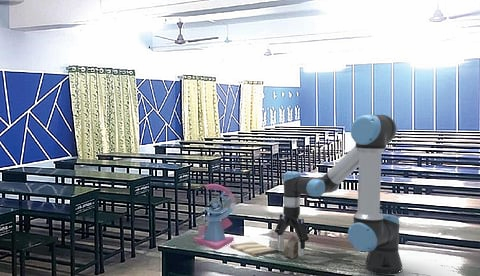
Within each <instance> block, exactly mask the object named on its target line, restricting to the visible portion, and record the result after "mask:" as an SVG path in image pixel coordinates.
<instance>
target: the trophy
mask: <svg viewBox="0 0 480 276" xmlns="http://www.w3.org/2000/svg"><path fill="white" fill-rule="evenodd" d="M204 187H205V189H206V193H207V194H208V195H210V192H209V190H214V195H217V190H219V191H221V194H220V195H219V197H220V198H221V199H223V200H224V201H225V206H222V204H223V203H222V201H221V200H219V199H218V198H217V199H216V198H213V199H212V200H210V201H209V203H208V205H212V207H211V206H209V207H207V206H205V207H204V210H205V211H206V212H207V213H209V215H208V214H205V218H204V219H205V220H204V221H207V222H208V224H207V225H198V231H197V237H196V236H195V237H194V238H193V242H194V243H195V242H196V244H199V245H201V246H204V247H206V248H210V249H212V250H215V251H216V250H218V251H219V250H220V249H222V248H224V247H226V246H228V245H229V244H231V243H233V242H234V240H235V237H234V236H226V235H225V232H224V230H227V229H228V228H229V227H230V226H232V225H233V222H232V221H231V220H230V219H229V218H228V216H230V215H231V213H232V212H233V211H234V208H235V207H236V204H237V203H236V197H235V196H234V194H233V193H232V192H231V191H230V189H228V187H227V188H226V187H225V186H223V185H220V184H215V183H211V184H210V183H209V184H204ZM225 194H226V195H227V196H228V197H225ZM229 200H230V202H231V204H229V206H228V201H229ZM217 202H218V204H219V205H218V204H217ZM218 207H219V208H218ZM226 207H228V208H226ZM210 214H211V215H210ZM198 236H199V237H198ZM200 236H202V237H200ZM232 241H233V242H232ZM227 244H228V245H227ZM225 245H226V246H225Z"/></svg>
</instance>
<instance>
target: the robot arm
mask: <svg viewBox="0 0 480 276" xmlns="http://www.w3.org/2000/svg"><path fill="white" fill-rule="evenodd" d="M396 133H397V124H396V123H395V120H393V118H391V116H388V115H385V114H363V115H360V116H358V117H357V118H356V119H355V120H354V121H353V123H352V125H351V126H350V137H351V138H352V139H353V141H354V142H355V146H354V147H353V148H352V149H350V150H349V151H348V152H347V153H346V154H345V155H343V157H342V158H341V159H340V160H339V161H338V162H337V163H336V164H334V165H333V166H332V167H331V168H329V170H328V171H327V172H326V173H325V174H324V175H323V176H318V177H311V178H310V177H302V173H301V172H299V171H286V172H285V173H284V175H283V203H282V204H283V205H284V206H283V211H282V212H283V213H280V214H279V219H278V222H277V224H276V227H275V230H274V232H275V233H276V234H277V242H278V246H277V247H278V249H277V250H284V247H285V234H284V233H285V232H286V230H287V229H288V227H291V228H293V229H294V231H295V233H296V235H297V238H298V239H299V246H298V254H297V257H301V256H305V247H306V241H309V234H308V233H307V229H306V228H307V227H306V225H305V220H304V219H305V218H299V216H300V214H301V207H300V205H301V195H304V196H310V197H318V198H319V197H321V196H323V195H324V194H327V193H328V194H330V193H333V192H335V191H338V190H339V188H340V184H341V183H343V181H345V180H346V179H347V178H348V177H349V176H350V175H352V173H353V172H355V171H356V170H357V168H358V185H357V186H358V187H357V188H358V189H357V190H358V191H357V212H356V213H354V214H353V223H352V224H351V225H350V226H349V228H348V231H347V237H348V241H349V243H350V244H351V245H352V246H353V248H354V249H356V250H357V251H359V252H368V253H367V256H366V260H365V262H364V264H365V265H364V268H365V269H366V270H368V271H371V272H373V273H379V274H386V273H393V274H397V273H396V272H399V271H401V270H402V271H403V263H402V259H401V256H400V252H399V243H400V242H399V240H400V239H399V238H400V226H401V225H400V219H399V217H398V216H397V215H394V214H388V213H381V212H380V209H381V180H382V179H381V177H382V154H383V152H384V151H385V150H386V149H387V148H386V146H387V145H389V143H391V142H392V141H393V139H394V138H395V137H396V135H397V134H396ZM402 271H401V272H402ZM399 273H400V272H399Z"/></svg>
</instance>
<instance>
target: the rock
mask: <svg viewBox="0 0 480 276" xmlns="http://www.w3.org/2000/svg"><path fill="white" fill-rule="evenodd" d="M299 241H300V240H299V238H298V236H297V237H296V236H294V235H292V236H290V238H289V239H288V241H287V243H286V244H285V245H284V249H283V252H284V257H286V258H289V259H291V260H293V259H295V258H296V257H297V256H298V246H299Z"/></svg>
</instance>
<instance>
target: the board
mask: <svg viewBox="0 0 480 276" xmlns="http://www.w3.org/2000/svg"><path fill="white" fill-rule="evenodd" d="M229 248H230V249H233V250H237V251H239V252H242V253H244V254H247V255H249V256H252V257H255V258H256V257H261V256H266V255H271V254H278V253H279V249H276V248H273V247H270V246H267V245H263V244H261V243H258V242H255V241H252V240H251V241H246V242H240V243H235V244H231V245H229Z"/></svg>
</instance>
